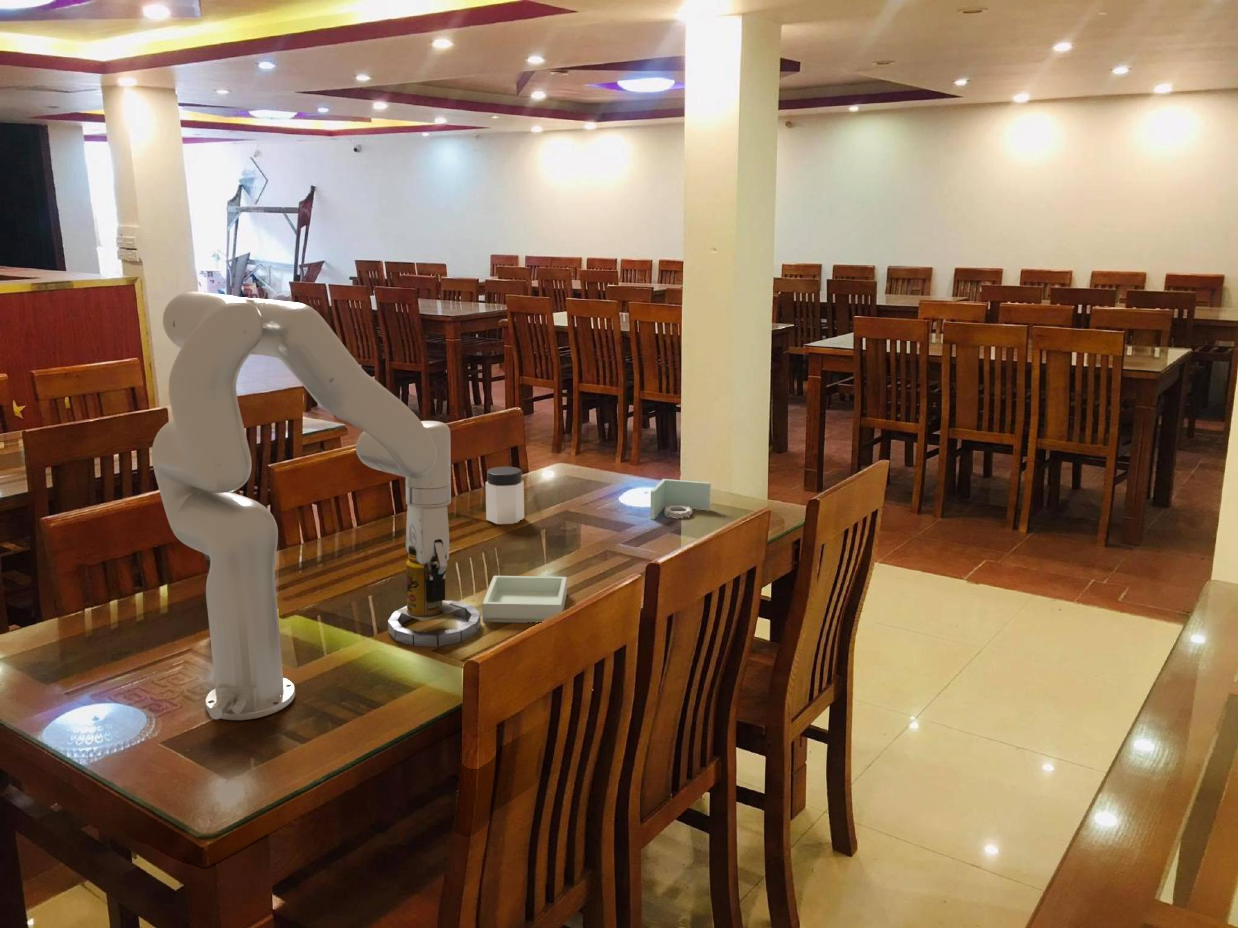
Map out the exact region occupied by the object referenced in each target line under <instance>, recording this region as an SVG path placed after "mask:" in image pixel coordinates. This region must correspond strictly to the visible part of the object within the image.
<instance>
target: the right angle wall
mask: <svg viewBox="0 0 1238 928" xmlns="http://www.w3.org/2000/svg"><path fill="white" fill-rule="evenodd" d="M711 487H712V486H711V482H707V481H695V480H694V481H693V480H682V479H672V478H671V479H668V478H662V479H661V480H660V481H659V482H658V483H657V484H656V486H655V487H653V488H652V489H651V490H650V514H649V515H650V520H652V519H654V520H655V519H656V518H657V517H658V516H659V515H660V514H661V513H662V512H663V511H664V512H663V515H664V514H665V515H664V516H666V518H670V517H676V518H675V519H676V520H680V519H679V518H681V519H684V518H683V517H688V516H690V515H691V514H692V515H693V510H692V509H703V510H709V509H710V510H711ZM664 507H665V508H664ZM663 508H664V509H663ZM662 509H663V510H662ZM658 514H659V515H658ZM692 515H691V516H692ZM688 518H689V517H688Z"/></svg>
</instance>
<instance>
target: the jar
mask: <svg viewBox="0 0 1238 928" xmlns="http://www.w3.org/2000/svg"><path fill="white" fill-rule="evenodd" d="M522 476H523V471H522V469H521V468H519V467H514V466H495V467H491V468H489V469H488V470H487V471H486V480H487V481H485V514H486V516H485V517H486V521H489V522H490V523H493V524H495V525H515V524H514V523H516V524H518V523H519V522H520V520H521V521H522V520H524V519H525V486H524V485H525V482H524V480H523V477H522Z"/></svg>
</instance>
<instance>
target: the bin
mask: <svg viewBox="0 0 1238 928" xmlns="http://www.w3.org/2000/svg"><path fill="white" fill-rule="evenodd" d="M567 579H568V578H567V576H537V575H536V576H532V575H530V576H529V575H525V576H524V575H493V576H492V578H491V581H490V584H489V586H488V589H487V591H486V593H485V595H484V599H483V602H482V603H481V604H482V605H481V606H482V607H481V608H482V622H483V623H523V624H524V623H526V624H527V622H530V623H531V624H533V623H532V622H535V624H537V623H538V622H541V621H543V620H544V619H547V618H550V617H551V616H554V615H556V614H558V613H560V612H562V611H563V610H565V606H566V600H567V599H566V598H567V593H568V591H567V588H568V587H567V586H568V580H567ZM563 612H564V611H563ZM536 621H538V622H536ZM538 624H539V623H538Z"/></svg>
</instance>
